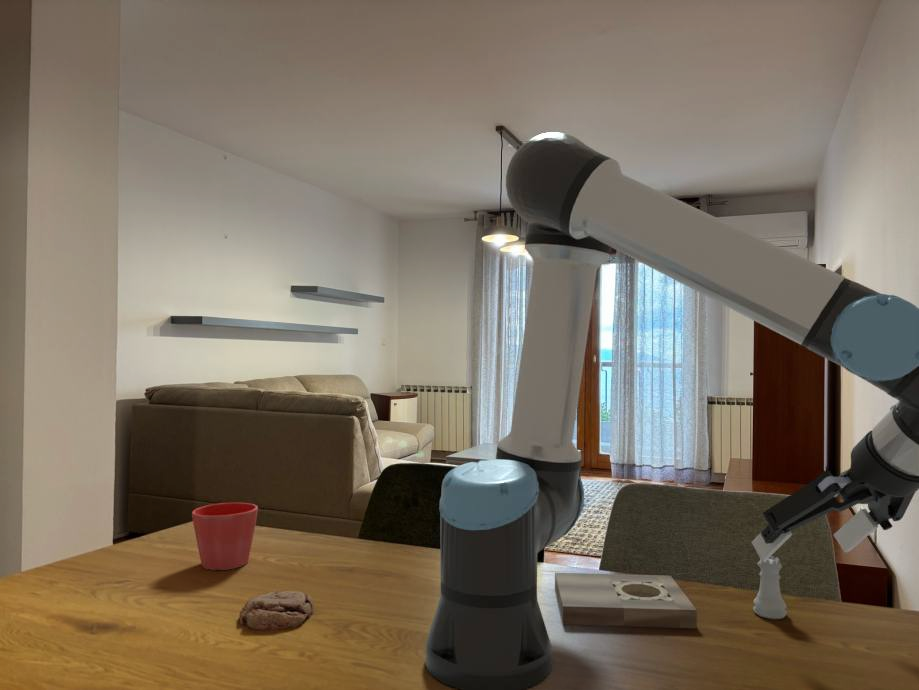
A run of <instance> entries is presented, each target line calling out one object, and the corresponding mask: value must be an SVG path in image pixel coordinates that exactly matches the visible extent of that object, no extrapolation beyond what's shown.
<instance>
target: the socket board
mask: <svg viewBox="0 0 919 690" xmlns="http://www.w3.org/2000/svg"><path fill="white" fill-rule="evenodd" d="M554 591H555V596H556V599H557V604H558V609H559V613H560V618H561V621H562V625H570V626H573V625H574V626H601V627H602V626H603V627H604V626H605V627H606V626H607V627H611V626H612V627H629V628H630V627H635V628H636V627H637V628H663V629H664V628H665V629H667V628H669V629H670V628H671V629H696V630H697V627H698V625H697V624H698V623H697V622H698V621H697V620H698V616H697V615H698V614H697V613H698V610H697V608H696V607H695V606H694V605H693V603H692V602H691V600H690V599H689V598H688V596H687V595H686V594H685V593H684V591H683V590H682V589H681V587H680V586H679V584H678V583H677V582H676V581H675V580H674V579H673V577H672V576H671V575H664V574H663V575H660V574H659V575H657V574H624V573H622V574H620V573H619V574H618V573H588V572H587V573H583V572H582V573H580V572H554Z"/></svg>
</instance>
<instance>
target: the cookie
mask: <svg viewBox="0 0 919 690" xmlns="http://www.w3.org/2000/svg"><path fill="white" fill-rule="evenodd" d="M313 615H314V600H313V598H312V596H311V595H310V594H308V593H305V592H301V591H298V590H283V591H280V592H279V591H278V590H274V591H272V592H268V593H266V594H262V595H255V596H252V597H250V598H248V599H247V601H246V602H245V605H244V606H242V608H241V609H240V612H239V616H238V617H239V624H240V625H241V626H244V625H245V626H246V627H248V629H251V630H253V631H260V632H261V631H263V632H264V631H277V630H288V629H292V628H296V627H297V626H301V625H302V624H303V623H304V622H305V621H306V619H311V616H313Z"/></svg>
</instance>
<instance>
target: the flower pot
mask: <svg viewBox="0 0 919 690" xmlns="http://www.w3.org/2000/svg"><path fill="white" fill-rule="evenodd" d="M258 511H259V507H258V505H256V504H254V503H249V502H221V503H220V502H219V503H214V504H208V505H204V506H200V507H197V508H195V509H194V510H193V511H192V512H191V518H192V522H193V523H192V524H193V528H194V533H195V539H196V544H197V549H198V553H199V558H200V559H199V560H200V563H201V566H202V568H204V569H205V570H209V569H210V571H217V570H219V571H226V570H233V569H237V568H239V567H240V568H241V567H243V566H245V565H246V564H247V563H248V562H249V560H250V555H251V550H252V545H253V541H254V535H255V530H256V524H257V518H258Z"/></svg>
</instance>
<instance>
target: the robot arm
mask: <svg viewBox="0 0 919 690" xmlns="http://www.w3.org/2000/svg"><path fill="white" fill-rule="evenodd" d="M505 189H506V196H507V198H508V201H509V203H510V205H511V207H512V208H513V210H514V211H515V212H516V214H517V215H518V216H519V217H520V218H521V219H522V220H524V221H525V222H527V229H526V234H525V235H526V236H525V243H524V249H525V251H526V252H527V253H528V255H530V257H531V259H532V261H533V266H532V272H531V273H532V274H531V280H530V281H531V282H530V286H529V295H528V296H529V297H528V301H527V302H528V303H527V308H526V309H527V310H526V317H525V325H524V331H523V339H522V348H521V353H520V361H519V366H518V367H519V368H518V373H517V374H518V376H517V383H516V390H515V395H514V396H515V397H514V398H515V399H514V405H513V411H512V417H511V418H512V419H511V427H510V432H509V433H508V434H507V435H506V436H505V437H503V438H502V439H500V441H498V442H497V448H496V454H495V459H482V460H481V459H480V460H479V461H476V462H475V461H470V462H466V463H463V464H460V465H457V466H456V467H453V468H452V469H451V470H449V471H448V472H447V473H445V475H444V478H443V480H442V482H441V494H440V495H441V496H440V498H439V504H438V505H439V513H440V519H439V520H440V523H439V525H440V526H439V527H440V534H439V535H440V538H439V539H440V593H439V595H440V597H439V600H438V604H437V607H436V610H435V614H434V615H433V619H432V622H431V626H430V627H429V632H428V634H427V636H426V637H427V638H426V642H425V666H426V670H427V671H428V672H429V674H430V675H431V676H433V678H435V679H436V680H438V681H439V682H441V683H443V684H445V685H448V686H450V687H453V688H456V689H459V690H524V689H527V688H530V687H532V686H535V685H537V684H538V683H540V682H542V681H543V680H545V679H546V678H547V676H549V674H550V672H551V670H552V668H553V667H552V661H553V657H552V655H553V654H552V653H553V652H552V650H553V649H552V643H551V640H550V637H549V633H548V631H547V627H546V623H545V620H544V618H543V615H542V612H541V608H540V604H539V602H538V601H539V600H538V553H540V552H541V551H542V550H544V549H546V548H547V547H549V546H550V545H551V544H553V543H555V542H557V541H559V540H560V539H561V538H563V537H565V536H566V535H567V534H569V532H570V531H571V530H572V529H573V528H574V526H575V524H576V523H577V522H578V520H579V518H580V516H581V515H582V511H583V508H584V503H585V488H584V484H583V481H582V479H581V477H580V470H581V469H580V467H581V462H582V454H581V453H580V451H579V450H578V449H577V448H576V446H575V445H574V442H573V441H574V440H573V438H574V432H575V424H576V417H577V411H578V404H579V397H580V389H581V384H582V383H581V382H582V377H583V370H584V369H583V368H584V362H585V361H584V360H585V355H586V347H587V343H588V342H587V340H588V334H589V328H590V327H589V326H590V322H591V321H590V320H591V313H592V305H593V299H594V291H595V285H596V279H597V270H598V269H599V267H601V266H603V264H604V263H606V262H607V261H608V260H610V258H611V254H612V249H613V250H616V251H618V252H620V253H621V254H624V255H626V256H628V257H630V258H632V259H633V260H636V261H637V262H640V263H641V264H643V265H645V266H647V267H648V268H651V269H653V270H655V271H656V272H659V273H661V274H662V275H664V276H667V277H668V278H670V279H673V280H674V281H676V282H679V283H681V284H682V285H684V286H685V287H688V288H690V289H691V290H693V291H696V292H698V293H700V294H701V295H704V296H706V297H707V298H709V299H712V300H713V301H715V302H717V303H718V304H721V305H723V306H725V307H727V308H728V309H731V310H733V311H735V312H736V313H739V314H740V315H743V316H744V317H747V318H748V319H750V320H752V321H754V322H756V323H758V324H760V325H762V326H764V327H766V328H768V329H769V330H771V331H773V332H775V333H777V334H780V335H781V336H783V337H785V338H787V339H789V340H791V341H792V342H794V343H796V344H799V345H800V346H803V347H804V348H806V349H807V350H809V351H812V352H813V353H815V354H817V355H819V356H821V357H823V358H824V359H827V360H828V361H831V362H832V363H835V364H836V365H837V366H840V367H842V368H843V369H845V370H846V371H847V372H849V373H851V374H853V375H855V376H857V377H859V378H861V379H862V380H864V381H866V382H868V383H869V384H870V385H872V386H874V387H876V388H878V389H880V390H881V391H883V392H884V393H886V394H887V395H888V396H890V397H892V398H894V399H896V400H897V402H896V404H894V405H892V406H890V408H889V411H888V412H887V413H886V414H885V415H884V416H883V418H882V419H880V420H879V422H878V423H877V424H876V425H875V426H874V427H873V428H872V430H870V431H868V432H867V433H866V434H865V435H864V436H863V437H862V438H861V439H860V440H859V442H857V443H856V444H855V446H854V447H853V448H852V450H851V452H850V467H849V468H848V469H846V470H844V471H842V472H841V473H840V474H839V475H838V476H833V474H832V473H831V471H830V470H824V471H821V473H819V475H817V476H816V477H815V478H814V479H813V480H812V481H810V482H809V483H808V484H806V485H804V486H803V487H801V488H799V489H798V490H797V491H795V492H793V493H791V494H790V495H788V496H787V497H785V498H784V499H782V500H780V501H779V502H777V503H775V504H774V505H772V506H771V507H769V508H768V509H766V510H764V511H763V512H762V516H763V517H764V519H765V521H766V523H767V525H766V526H765V527H764V528H763V529H762V530H761V531H760V532H759V534H757V535H756V537H755V538H754V539H753V540H752V541H751V544H752V545H753V547H754V549H755V551H756V554H757V555H758V557H759V560H760V559H761V560H762V561H764V560H767V559H770V556H772V555H773V554H774V553H775V552H776V551H778V549H780V547H782V546H783V545H784V544H785V542H786V541H788V540H789V538H791V537H792V536H793V531H794V530H795V529H798V528H800V527H802V526H804V525H806V524H808V523H810V522H813V521H815V520H817V519H819V518H821V517H823V516H825V515H827V514H829V513H832V512H834V511H836V512H844V511H845V510H848V509H850V508H852V507H854V506H856V505H867V508H868V510H869V511H868V510H867V509H866V508H861V509H859V510H858V511H857V512H856V513H855V514H854V515H853V516H852V517H851V518H850V519H849V520H848V521H846V523H845V524H844V525H842V526H841V527H840V528H839V529H838V530H837V531H836V532H835V533H833V537H834V539H835V540H836V541H837V542H838V544H839V546H840V548H841V549H842V551H843V552H844V553H850V552H851V551H852V550H853V549H854V548H855V547H857V545H859V544H861V542H863V541H864V540H865V539H866V538H867V537H868V536H869V535H871V534H872V533H873V532H874V531H876V530H877V529H878V528H879V526H880V527H881V529H882V530H883V531H888V530H890V529H891V528H893V525H892V523H891V521H890V519H892V521H893V522H899V521H901V519H902V518H903V517H904V516H905V514H906V511H907V509H908V508H909V506H910V503H911V502H912V501H913V497H914V496H915V494H916V493H917V491H918V490H919V307H918V306H916V304H913V303H912V302H910V301H908V300H906V299H904V298H902V297H899V296H897V295H895V294H893V295H892V294H885V293H880V292H878V291H876V290H874V289H871V288H869V287H868V286H865V285H864V284H861V283H858V282H856V281H854V280H850V279H849V278H846V277H845V276H844V275H842V274H840V273H837V272H835V271H833V270H831V269H828V268H826V267H825V266H822V265H819V264H818V263H816V262H814V261H811V260H809V259H807V258H805V257H802V256H801V255H799V254H796V253H794V252H792V251H790V250H788V249H786V248H784V247H782V246H779V245H777V244H775V243H772V242H770V241H768V240H766V239H763V238H761V237H759V236H757V235H755V234H753V233H750V232H748V231H747V230H744V229H742V228H740V227H739V226H735V225H733V224H731V223H730V222H726V221H725V220H722V219H720V218H718V217H717V216H714V215H712V214H709V213H708V212H706V211H703V210H701V209H698V208H696V207H695V206H692V205H691V204H688V203H686V202H683V201H681V200H679V199H677V198H675V197H673V196H671V195H668V194H666V193H664V192H662V191H659V190H658V189H655V188H654V187H651V186H649V185H647V184H644V183H642V182H640V181H638V180H636V179H634V178H631V177H629V176H627V175H626V174H623V172H622V169H621V166H620V163H619V161H617V160H615V159H614V158H611V157H609V156H607V155H604V154H603V153H600V152H599V151H597V150H595V149H594V148H591V147H589V146H588V145H587V144H585V143H584V142H583V141H581V140H580V139H578V138H577V137H575V136H573V135H571V134H567V133H565V132H557V131H555V132H554V131H553V132H545V133H541V134H539V135H536V136H534V137H531V138H530V139H528V140H527V141H525V142H524V143H523V144H522V145H520V147H519V148H518V149H517V150H516V151H515V153H514V154H513V155H512V157H511V159H510V162H509V163H508V167H507V169H506V175H505ZM838 496H839V497H840V498H841V500H842V501H839V500H838V499H837V497H838ZM902 520H903V519H902Z"/></svg>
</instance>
